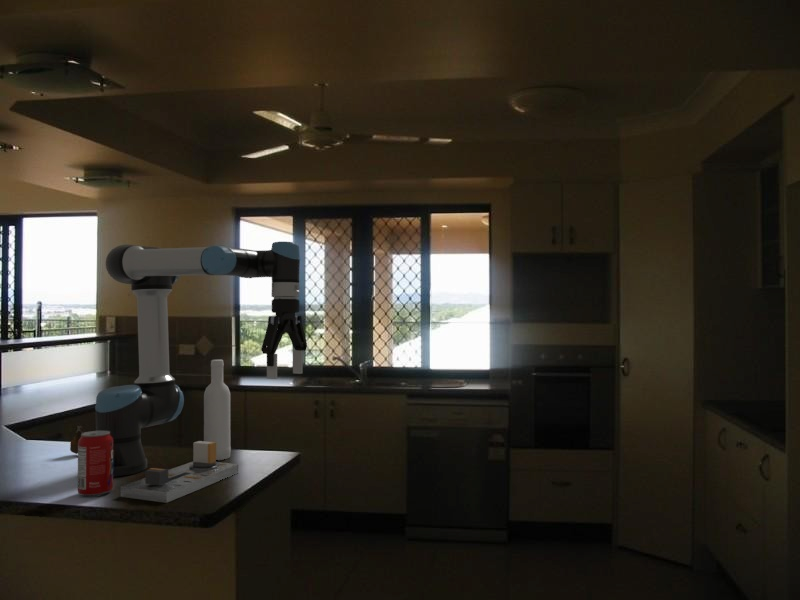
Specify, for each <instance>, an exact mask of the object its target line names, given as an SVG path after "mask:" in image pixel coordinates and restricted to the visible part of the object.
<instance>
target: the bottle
mask: <svg viewBox="0 0 800 600" xmlns="http://www.w3.org/2000/svg"><path fill="white" fill-rule="evenodd" d="M224 366H225V363H224V360H223V359H212V360H210V384H208V386H207V387H205V390H204V394H203V441H206V442H216V460H218V461H223V460H224V459H225V460H228V459H229V458H231V453H232V451H231V450H232V447H231V391H230V389H229V386H228V385H227V384H226V383H225V382H224Z"/></svg>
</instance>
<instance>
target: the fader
mask: <svg viewBox="0 0 800 600" xmlns="http://www.w3.org/2000/svg"><path fill="white" fill-rule="evenodd" d="M168 470H169V469H168V468H162V467H161V468H159V467H150V468H149V469H145V470H144V473H145V476H144V478H145V484H151V487H155V486H158V485H159V486H160V485H162V484H165V483H168Z"/></svg>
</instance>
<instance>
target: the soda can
mask: <svg viewBox="0 0 800 600" xmlns="http://www.w3.org/2000/svg"><path fill="white" fill-rule="evenodd" d="M113 489H114V477H113V437H112V436H111V435H110V431H96V430H93V431H91V430H90V431H85V432H83V433H82V434H81V438H80V439H79V441H78V454H77V493H78V494H79V495H81V496H83V497H87V498H88V497H90V498H93V497H101V496H104V495H106V494H108V493H109V492H111V491H112V490H113Z"/></svg>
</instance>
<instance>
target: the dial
mask: <svg viewBox="0 0 800 600" xmlns="http://www.w3.org/2000/svg"><path fill="white" fill-rule="evenodd" d="M192 446H193V451H192V453H193V454H192V456H193V461H192V462H193V467H195V468H209V467H213V466H215V465H216V462H217V461H216V442H206V441H204V440H203V441H202V440H198V441H195V442H193V443H192Z"/></svg>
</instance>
